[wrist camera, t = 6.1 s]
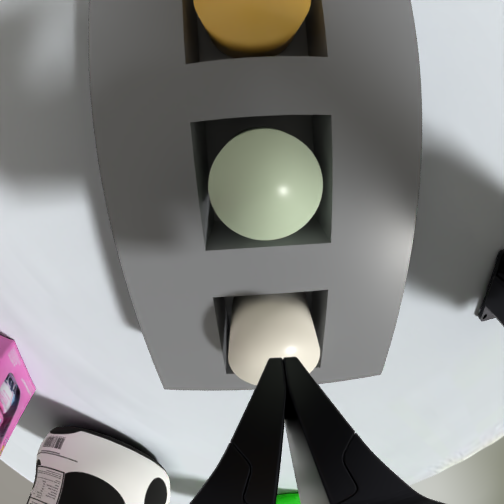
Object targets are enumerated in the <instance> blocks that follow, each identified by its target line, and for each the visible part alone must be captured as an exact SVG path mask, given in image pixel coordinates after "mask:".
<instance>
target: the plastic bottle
mask: <svg viewBox="0 0 504 504" xmlns="http://www.w3.org/2000/svg"><path fill="white" fill-rule="evenodd" d="M276 504H301V503H300V498H299V494H298V493H289V494H281V495H277V499H276Z"/></svg>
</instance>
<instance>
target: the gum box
mask: <svg viewBox="0 0 504 504" xmlns="http://www.w3.org/2000/svg"><path fill="white" fill-rule="evenodd" d="M35 390H36V388H35V386H34V384H33V382H32V380H31V378H30V376H29V373H28V371H27V369H26V366H25V364H24V362H23V360H22V358H21V356H20V353H19V351H18V349H17V346H16V343H15V341H14V340H11V339H8V338H6V337H3V336H1V335H0V456H1V454H2V452H3V449H4V447H5V445H6V443H7V442H8V440H9V438H10V436H11V434H12V432H13V430H14V428H15V426H16V424H17V423H18V421H19V419H20V417H21V415H22V413H23V412H24V410H25V408H26V406H27V404H28V402H29V401H30V399H31V397H32V395H33V393H34V392H35Z"/></svg>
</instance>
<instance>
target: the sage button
mask: <svg viewBox="0 0 504 504" xmlns="http://www.w3.org/2000/svg"><path fill="white" fill-rule="evenodd" d="M208 191H209V197H210V201H211V204H212V206H213V208H214V210H215V212H216V214H217V215H218V217H219V218H220V219H221V221H222V222H223V223H224V224H225V225H226V226H227V227H229V228H230V229H231V230H233V231H234V232H236V233H238V234H240V235H242V236H244V237H247V238H251V239H255V240H275V239H280V238H283V237H286V236H289V235H291V234H293V233H295V232H296V231H298V230H299V229H301V228H302V227H303V226H304V225H305V224H307V223H308V221H309V220H310V219H311V218H312V217H313V215H314V214H315V212H316V210H317V208H318V206H319V203H320V201H321V197H322V192H323V177H322V173H321V169H320V166H319V163H318V161H317V159H316V157H315V156H314V154H313V153H312V152H311V150H310V149H309V148H308V147H307V146H306V145H305V144H304V143H302V142H301V141H300V140H298V139H297V138H295V137H294V136H291V135H289V134H287V133H285V132H283V131H280V130H278V129H275V128H272V127H266V126H258V127H252V128H248V129H245V130H243V131H241V132H239V133H238V134H236V135H235V136H234V137H232V138H231V139H230V140H229V142H228V143H227V144H226V145H225V146H224V147H223V149H222V150H221V151H220V153H219V154H218V155H217V157H216V159H215V160H214V162H213V165H212V167H211V170H210V174H209V181H208Z"/></svg>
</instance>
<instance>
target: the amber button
mask: <svg viewBox="0 0 504 504" xmlns="http://www.w3.org/2000/svg"><path fill="white" fill-rule="evenodd" d="M193 1H194V7H195V10H196V12H197V14H198V16H199V18H200V20H201V22H202V24H203V25H204V27H205V29H206V31H207V33H208V35H209V37H210V39H211V41H212V42H213V44H214V45H215V46H216V47H217V48H218V49H219V50H220V51H221V52H222V53H224V54H226V55H227V56H229V57H231V58H247V57H268V56H276V55H278V54H279V53H281V52H282V51H283V50H284V49H286V47H287V46H288V45H289V44H290V42H291V41H292V39H293V37H294V36H295V34H296V32H297V31H298V29H299V27H300V26H301V24H302V22H303V21H304V19H305V17H306V16H307V14H308V12H309V9H310V5H311V0H193Z"/></svg>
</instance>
